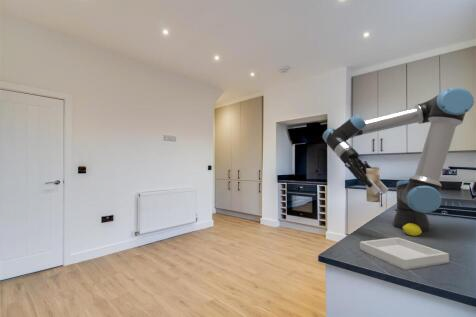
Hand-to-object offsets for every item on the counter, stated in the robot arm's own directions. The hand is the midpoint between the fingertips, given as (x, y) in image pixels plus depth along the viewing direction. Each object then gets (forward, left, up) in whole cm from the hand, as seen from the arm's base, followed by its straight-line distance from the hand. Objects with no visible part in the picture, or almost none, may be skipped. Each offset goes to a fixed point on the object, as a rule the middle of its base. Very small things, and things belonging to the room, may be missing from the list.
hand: (381, 192), depth 100 cm
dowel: (+1, -4, -4) cm, 6 cm away
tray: (+8, +15, -20) cm, 26 cm away
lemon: (-18, -2, -20) cm, 28 cm away
